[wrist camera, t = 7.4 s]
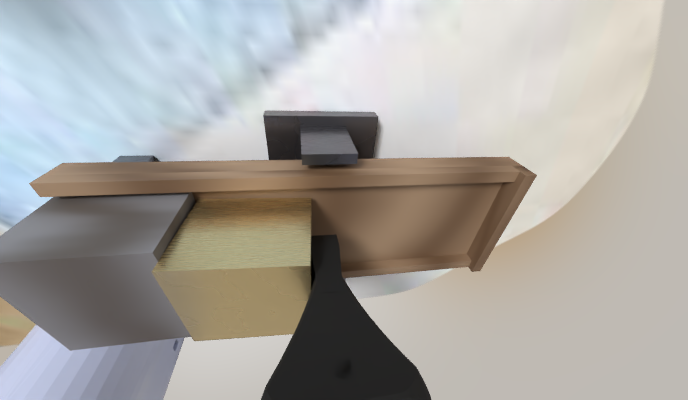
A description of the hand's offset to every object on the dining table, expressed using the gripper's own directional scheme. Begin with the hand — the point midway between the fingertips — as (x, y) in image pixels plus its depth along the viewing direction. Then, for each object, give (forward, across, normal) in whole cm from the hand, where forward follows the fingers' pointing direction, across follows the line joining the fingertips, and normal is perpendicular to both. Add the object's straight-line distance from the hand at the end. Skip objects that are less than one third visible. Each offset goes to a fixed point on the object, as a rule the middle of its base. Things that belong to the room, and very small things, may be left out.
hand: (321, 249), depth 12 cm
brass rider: (+1, +3, 0) cm, 3 cm away
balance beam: (+2, 0, 0) cm, 3 cm away
